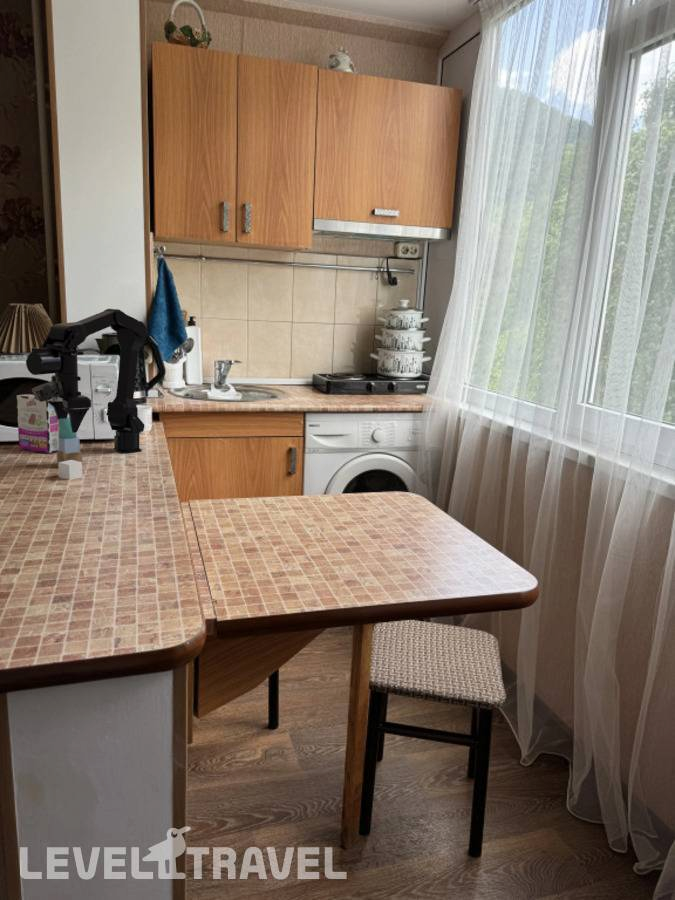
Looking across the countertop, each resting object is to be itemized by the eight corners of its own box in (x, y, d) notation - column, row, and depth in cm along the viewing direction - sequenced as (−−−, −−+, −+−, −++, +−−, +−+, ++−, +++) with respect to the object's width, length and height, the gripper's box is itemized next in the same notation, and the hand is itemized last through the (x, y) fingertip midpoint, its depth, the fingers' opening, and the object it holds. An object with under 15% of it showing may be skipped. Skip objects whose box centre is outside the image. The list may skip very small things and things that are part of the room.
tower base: (75, 462, 181) (75, 448, 180) (82, 466, 177) (82, 452, 176) (57, 464, 177) (56, 450, 177) (64, 468, 174) (63, 454, 173)
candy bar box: (61, 450, 192) (59, 396, 189) (49, 454, 188) (47, 398, 184) (30, 446, 196) (28, 393, 192) (18, 449, 191) (15, 394, 187)
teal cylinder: (73, 434, 179) (72, 417, 177) (79, 437, 175) (78, 419, 174) (56, 436, 176) (55, 418, 175) (62, 439, 173) (61, 421, 171)
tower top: (73, 449, 179) (73, 435, 178) (79, 452, 176) (79, 437, 176) (59, 450, 176) (58, 436, 176) (65, 453, 174) (64, 439, 173)
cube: (71, 474, 169) (71, 459, 168) (82, 477, 167) (82, 462, 166) (58, 477, 165) (58, 462, 164) (69, 480, 163) (69, 465, 163)
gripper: (23, 369, 173) (25, 425, 176) (47, 377, 160) (49, 438, 163) (65, 368, 180) (67, 422, 184) (91, 376, 167) (92, 434, 171)
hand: (68, 429), depth 175 cm, fingers open, 9 cm apart
